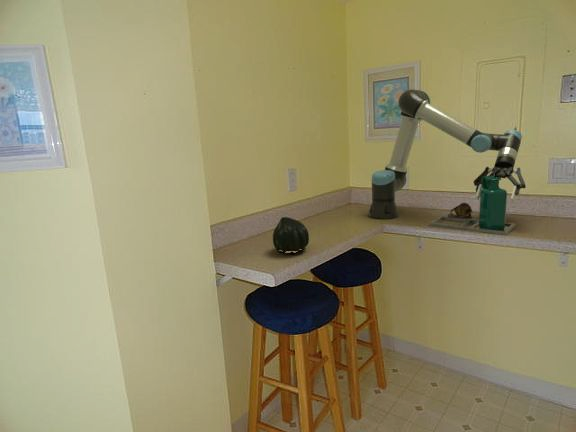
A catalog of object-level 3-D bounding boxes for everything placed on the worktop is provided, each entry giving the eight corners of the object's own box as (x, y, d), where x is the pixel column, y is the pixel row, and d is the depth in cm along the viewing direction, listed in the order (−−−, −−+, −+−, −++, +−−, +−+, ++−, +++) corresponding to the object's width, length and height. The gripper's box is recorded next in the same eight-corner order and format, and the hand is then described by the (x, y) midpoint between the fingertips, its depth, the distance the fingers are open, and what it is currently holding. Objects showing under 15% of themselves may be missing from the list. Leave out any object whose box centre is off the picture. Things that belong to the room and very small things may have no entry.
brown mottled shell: (479, 207, 187) (466, 200, 196) (455, 208, 184) (444, 200, 193) (475, 221, 190) (463, 213, 199) (451, 221, 187) (440, 213, 196)
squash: (322, 237, 153) (300, 207, 157) (297, 248, 143) (275, 216, 147) (303, 254, 163) (283, 226, 166) (279, 266, 152) (258, 236, 156)
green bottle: (506, 229, 166) (510, 177, 161) (487, 230, 165) (490, 179, 160) (493, 223, 175) (496, 175, 170) (475, 225, 175) (477, 176, 170)
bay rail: (428, 225, 181) (428, 222, 180) (441, 218, 192) (441, 216, 191) (506, 235, 159) (506, 231, 159) (515, 226, 171) (515, 223, 170)
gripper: (539, 166, 168) (528, 206, 160) (477, 165, 184) (465, 201, 177) (537, 154, 163) (527, 196, 155) (474, 154, 179) (462, 192, 172)
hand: (494, 199), depth 166 cm, fingers open, 13 cm apart
